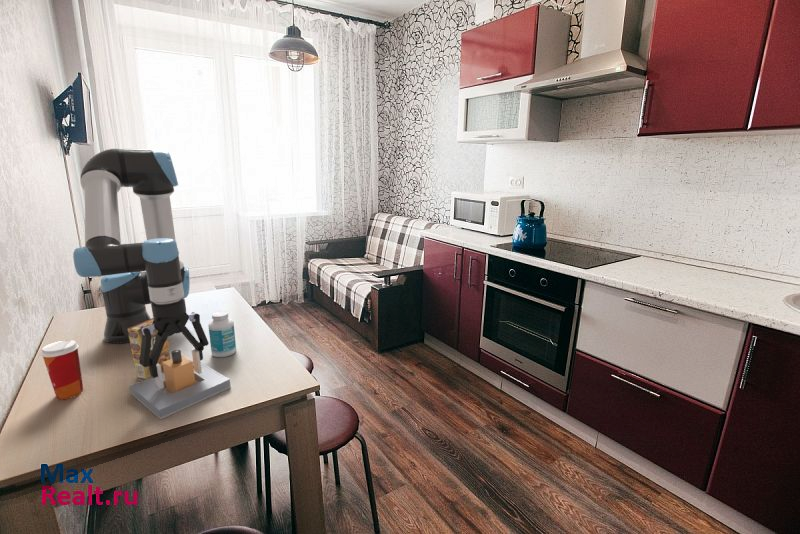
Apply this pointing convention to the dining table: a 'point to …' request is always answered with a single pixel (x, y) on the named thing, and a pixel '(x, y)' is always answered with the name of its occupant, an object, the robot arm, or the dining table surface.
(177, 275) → the robot arm
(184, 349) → the dining table surface
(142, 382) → the socket plate
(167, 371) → the plug
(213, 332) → the pill bottle
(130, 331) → the candy box
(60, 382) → the paper cup
